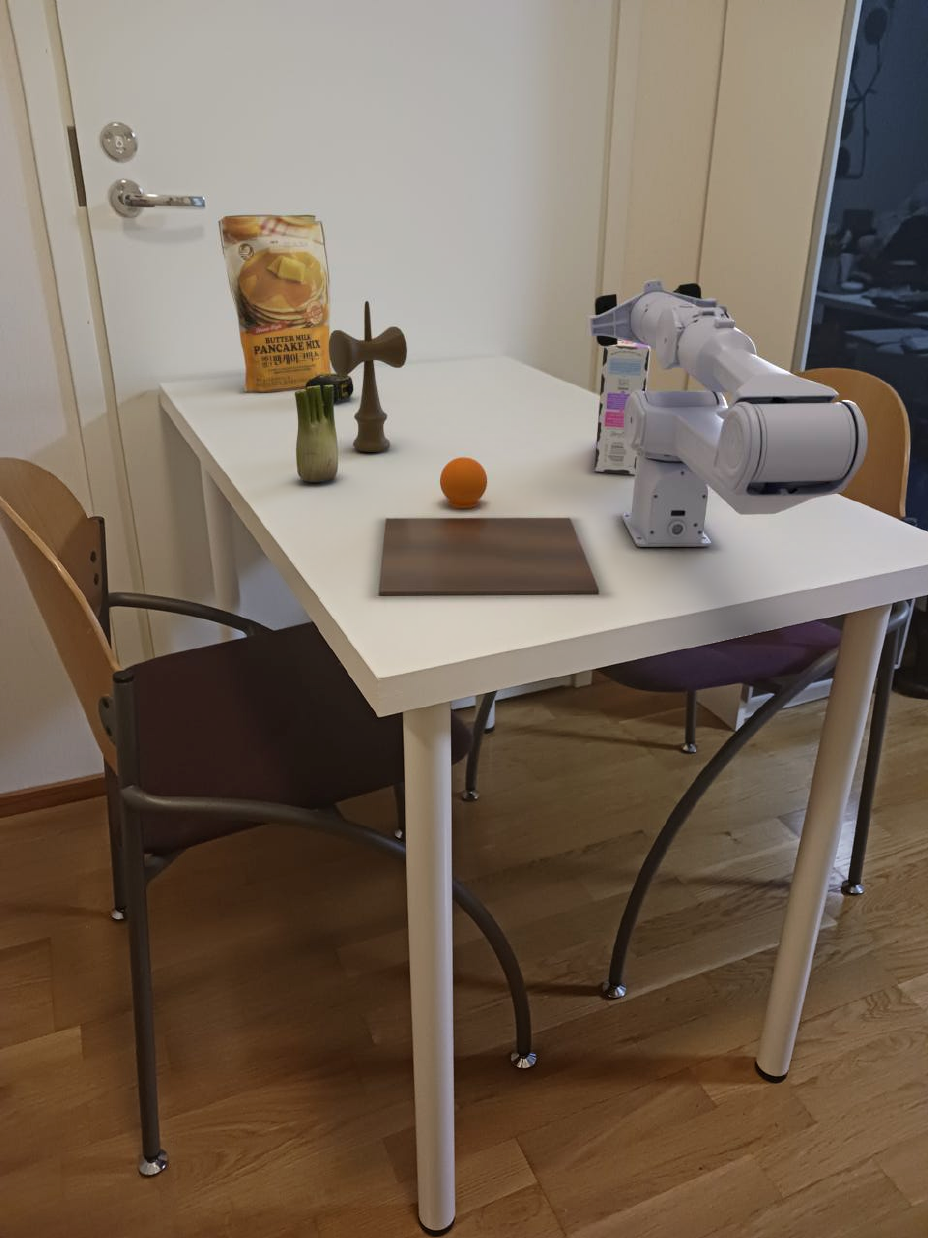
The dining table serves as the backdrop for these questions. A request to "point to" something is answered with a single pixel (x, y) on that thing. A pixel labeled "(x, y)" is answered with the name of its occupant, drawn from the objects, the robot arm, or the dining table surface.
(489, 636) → the dining table surface
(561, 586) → the front mat
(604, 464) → the candy box
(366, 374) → the kendama
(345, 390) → the tape measure
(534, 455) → the dining table surface
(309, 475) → the fennel bulb
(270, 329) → the pancake mix bag
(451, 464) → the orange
